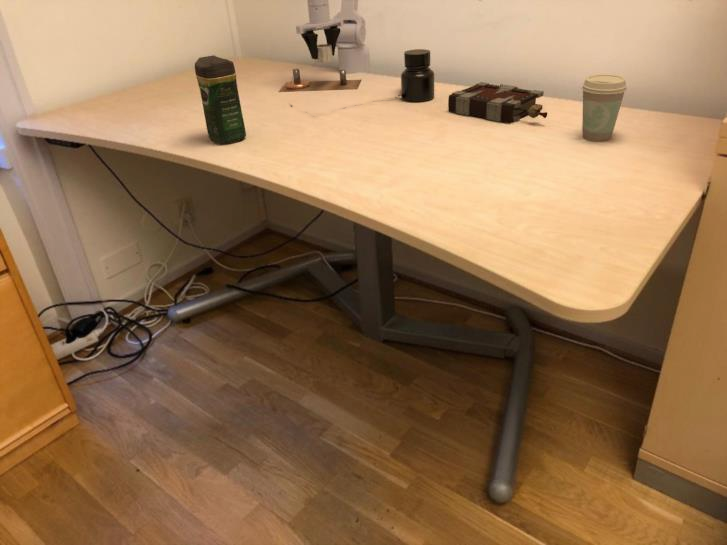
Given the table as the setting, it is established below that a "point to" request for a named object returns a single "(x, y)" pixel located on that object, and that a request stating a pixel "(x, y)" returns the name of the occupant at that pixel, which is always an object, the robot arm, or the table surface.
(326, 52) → the steel collar
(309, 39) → the robot arm
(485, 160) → the table surface
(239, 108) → the coffee jar
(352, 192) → the table surface
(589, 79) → the coffee cup
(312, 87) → the walnut board
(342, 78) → the stand rod
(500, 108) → the book
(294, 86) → the hub
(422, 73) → the ink bottle
